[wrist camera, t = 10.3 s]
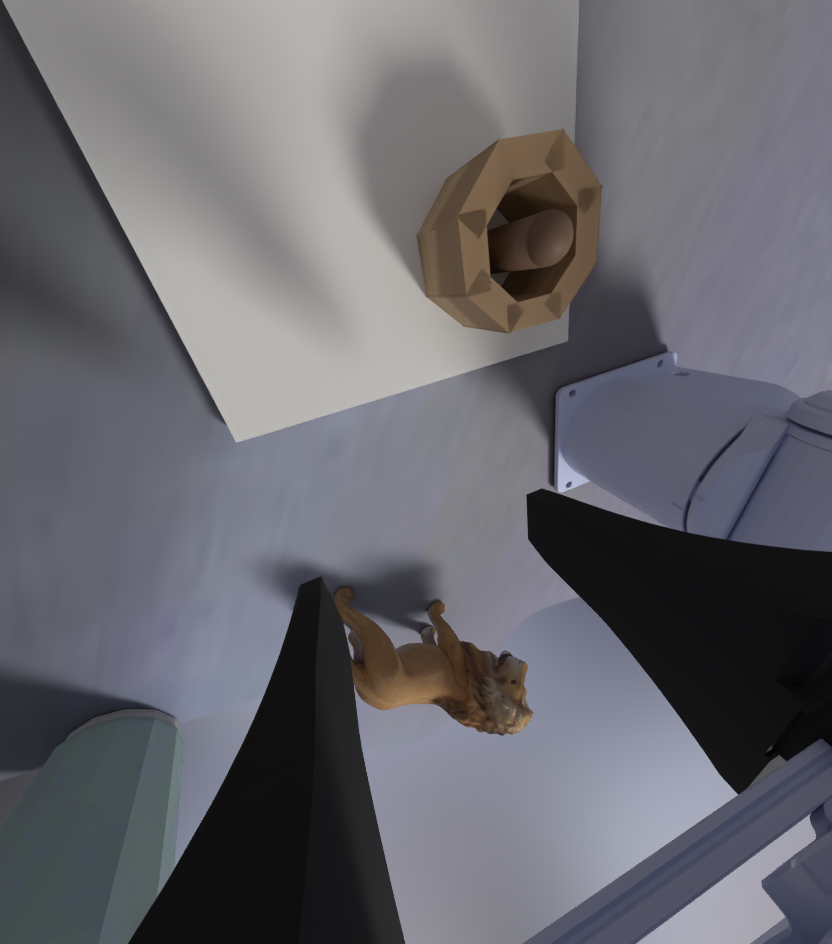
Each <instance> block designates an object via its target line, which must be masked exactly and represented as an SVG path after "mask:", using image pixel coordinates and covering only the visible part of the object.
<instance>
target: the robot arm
mask: <svg viewBox="0 0 832 944" xmlns="http://www.w3.org/2000/svg"><path fill="white" fill-rule="evenodd" d="M676 361H677V353H676V352H671V351H669V352H665V353H662V354H660V355H657V356H654V357H651V358H648V359H645V360H642V361H639V362H636V363H633V364H630V365H627V366H624V367H621V368H618V369H615V370H612V371H609V372H606V373H603V374H600V375H597V376H594V377H591V378H588V379H585V380H582V381H579V382H576V383H573V384H570V385H567V386H564V387H562V388H560V389H559V390H558V391H557V393H556V407H555V470H554V488H555V490H556V491H557V492H560V493H561V492H564V491H567V490H569V489H572V488H574V487H577V486H579V485H582V484H584V483H587V482H589V481H591V482H593V483H594V484H596V485H598V486H599V487H601V488H603V489H604V490H606V491H608V492H609V493H611V494H613V495H614V496H616V497H618V498H619V499H621V500H623V501H624V502H626V503H628V504H629V505H631V506H633V507H634V508H636V509H638V510H639V511H641V512H643V513H645V514H646V515H648V516H650V517H651V518H653V519H655V520H656V521H658V522H660V523H661V524H663V525H665V526H666V527H668V528H666V527H662V526H658V525H654V524H651V523H647V522H643V521H640V520H636V519H633V518H629V517H626V516H623V515H620V514H616V513H613V512H610V511H607V510H604V509H601V508H598V507H595V506H592V505H589V504H586V503H583V502H581V501H578V500H575V499H572V498H569V497H566V496H563V495H560V494H557V493H555V492H551V491H548V490H545V489H540V490H537V491H535V492H532V493H530V494H527V519H528V539H529V541H530V542H531V543H532V545H533V546H534V547H535V549H536V550H537V551H538V553H539V554H540V555H541V556H542V558H543V559H544V560H545V562H546V563H547V564H548V565H549V566H550V567H551V568H552V569H553V570H554V571H555V572H556V573H557V574H558V575H559V576H560V577H561V578H562V579H563V580H564V581H565V582H566V583H567V584H568V585H569V586H570V587H571V588H572V589H573V590H574V591H575V592H576V593H577V594H578V595H579V596H580V597H581V598H582V599H583V600H584V601H585V602H586V603H587V604H588V605H589V606H590V607H591V608H592V609H593V610H594V611H595V612H596V613H597V614H598V615H599V616H600V617H601V618H602V619H603V620H604V622H605V623H606V624H607V625H608V626H609V627H610V628H611V630H612V631H613V632H614V633H615V635H616V636H617V637H618V638H619V639H620V640H621V642H622V643H623V644H624V645H625V647H626V648H627V649H628V650H629V651H630V653H631V654H632V655H633V656H634V658H635V659H636V660H637V661H638V663H639V664H640V665H641V666H642V668H643V669H644V670H645V672H646V673H647V674H648V675H649V677H650V678H651V679H652V680H653V682H654V683H655V684H656V686H657V687H658V688H659V690H660V691H661V692H662V694H663V695H664V696H665V698H666V699H667V700H668V702H669V703H670V704H671V706H672V707H673V708H674V710H675V711H676V712H677V714H678V715H679V716H680V718H681V719H682V721H683V722H684V723H685V725H686V726H687V728H688V729H689V730H690V732H691V733H692V735H693V736H694V738H695V739H696V741H697V742H698V743H699V745H700V746H701V748H702V749H703V750H704V752H705V753H706V755H707V756H708V758H709V759H710V760H711V762H712V764H713V765H714V767H715V768H716V770H717V771H718V773H719V774H720V775H721V776H722V777H723V779H724V780H725V781H726V782H727V783H728V784H729V785H730V786H731V787H732V788H733V790H734V791H735V792H736V793H737V794H738V796H736V797H735V798H733V799H732V800H730V801H729V802H728V803H726V804H725V805H723V806H722V807H720V808H719V809H717V810H716V811H714V812H713V813H712V814H710V815H709V816H707V817H706V818H705V819H703V820H702V821H700V822H699V823H698V824H696V825H694V826H693V827H691V828H690V829H688V830H687V831H685V832H684V833H683V834H681V835H680V836H678V837H677V838H675V839H674V840H672V841H671V842H670V843H668V844H667V845H665V846H664V847H662V848H661V849H659V850H658V851H657V852H655V853H654V854H652V855H651V856H649V857H648V858H646V859H645V860H643V861H642V862H641V863H639V864H638V865H636V866H635V867H633V868H632V869H630V870H629V871H628V872H626V873H625V874H623V875H622V876H620V877H619V878H617V879H616V880H614V881H613V882H612V883H610V884H609V885H607V886H606V887H604V888H603V889H601V890H600V891H598V892H597V893H596V894H594V895H593V896H591V897H590V898H589V899H587V900H585V901H584V902H583V903H581V904H580V905H578V906H577V907H575V908H574V909H572V910H571V911H570V912H568V913H567V914H565V915H564V916H562V917H561V918H559V919H558V920H557V921H555V922H554V923H552V924H551V925H549V926H548V927H546V928H545V929H543V930H542V931H540V932H539V933H538V934H536V935H535V936H533V937H532V938H530V939H529V940H527V941H526V942H525V943H523V944H636V943H637V942H639V941H640V940H641V939H643V938H644V937H645V936H647V935H648V934H649V933H651V932H652V931H654V930H655V929H656V928H658V927H659V926H660V925H662V924H663V923H664V922H666V921H667V920H668V919H670V918H671V917H672V916H673V915H675V914H676V913H678V912H679V911H680V910H682V909H683V908H684V907H686V906H687V905H688V904H690V903H691V902H692V901H694V900H695V899H696V898H698V897H699V896H701V895H702V894H703V893H705V892H706V891H707V890H709V889H710V888H711V887H713V886H714V885H715V884H717V883H718V882H719V881H721V880H722V879H723V878H725V877H726V876H727V875H729V874H730V873H731V872H733V871H734V870H735V869H737V868H738V867H740V866H741V865H742V864H743V863H745V862H746V861H747V860H749V859H750V858H752V857H753V856H754V855H756V854H757V853H758V852H760V851H761V850H762V849H764V848H765V847H766V846H768V845H769V844H770V843H772V842H773V841H774V840H776V839H777V838H778V837H780V836H781V835H782V834H784V833H785V832H787V831H788V830H789V829H791V828H792V827H793V826H795V825H796V824H797V823H798V822H800V821H801V820H803V819H804V818H805V817H807V816H808V815H809V814H811V815H810V821H811V824H812V826H813V828H814V830H815V833H816V839H815V840H814V841H813V842H812V843H810V844H809V845H808V846H806V847H805V848H803V849H802V850H801V851H799V852H798V853H797V854H795V855H794V856H793V857H791V858H790V859H788V860H787V861H786V862H785V863H783V864H782V865H781V866H779V867H778V868H777V869H776V870H775V871H773V872H772V873H771V874H769V875H768V876H767V877H766V878H765V879H763V880H762V881H761V882H762V887H763V889H764V890H765V891H766V893H767V894H768V895H769V896H770V898H771V899H772V900H773V901H774V903H775V904H776V905H777V906H778V907H779V909H780V910H781V911H782V912H783V914H784V915H785V916H786V917H785V918H784V919H782V920H781V921H780V922H778V923H777V924H776V925H775V926H773V927H772V928H770V929H769V930H768V931H767V932H765V933H764V934H763V935H761V936H760V937H759V938H757V939H756V940H755V941H753V942H752V943H751V944H832V390H828V391H822V392H820V393H817V394H814V395H812V396H809V397H807V398H800V397H799V396H798V395H796V394H795V393H794V392H792V391H790V390H788V389H786V388H784V387H782V386H779V385H776V384H772V383H768V382H762V381H756V380H750V379H745V378H739V377H733V376H727V375H721V374H716V373H710V372H704V371H698V370H692V369H686V368H681V367H675V366H676ZM571 391H572V392H571ZM570 392H571V394H570ZM569 394H570V395H569ZM128 944H405V941H404V936H403V932H402V928H401V924H400V920H399V916H398V911H397V907H396V903H395V899H394V895H393V890H392V886H391V882H390V877H389V873H388V869H387V864H386V860H385V855H384V851H383V846H382V842H381V837H380V833H379V828H378V824H377V819H376V814H375V810H374V805H373V800H372V796H371V792H370V786H369V782H368V777H367V772H366V767H365V762H364V757H363V752H362V747H361V740H360V734H359V727H358V718H357V710H356V701H355V692H354V684H353V675H352V667H351V659H350V651H349V646H348V642H347V637H346V633H345V629H344V625H343V621H342V618H341V616H340V614H339V611H338V609H337V607H336V605H335V603H334V601H333V599H332V597H331V595H330V593H329V591H328V589H327V587H326V585H325V583H324V581H323V579H322V577H318V578H316V579H313V580H311V581H308V582H306V583H303V584H301V586H300V587H299V590H298V594H297V598H296V602H295V606H294V610H293V613H292V617H291V620H290V624H289V627H288V630H287V633H286V636H285V639H284V642H283V645H282V649H281V652H280V655H279V657H278V660H277V663H276V666H275V668H274V671H273V673H272V676H271V679H270V681H269V684H268V687H267V689H266V692H265V694H264V697H263V699H262V701H261V704H260V706H259V709H258V711H257V713H256V715H255V718H254V720H253V722H252V724H251V726H250V729H249V731H248V733H247V735H246V738H245V739H244V742H243V744H242V746H241V748H240V750H239V752H238V754H237V756H236V758H235V760H234V762H233V764H232V766H231V768H230V770H229V772H228V774H227V776H226V778H225V780H224V782H223V783H222V785H221V787H220V789H219V791H218V793H217V795H216V797H215V799H214V800H213V802H212V804H211V806H210V807H209V809H208V811H207V813H206V815H205V816H204V818H203V820H202V821H201V823H200V825H199V827H198V828H197V830H196V832H195V834H194V835H193V837H192V839H191V841H190V842H189V844H188V846H187V848H186V849H185V851H184V853H183V855H182V857H181V858H180V860H179V862H178V864H177V865H176V867H175V869H174V870H173V872H172V874H171V875H170V877H169V879H168V880H167V882H166V884H165V885H164V887H163V888H162V890H161V892H160V893H159V895H158V896H157V898H156V900H155V901H154V903H153V904H152V906H151V907H150V909H149V911H148V912H147V914H146V915H145V917H144V919H143V920H142V922H141V923H140V925H139V927H138V928H137V930H136V931H135V933H134V934H133V936H132V938H131V939H130V941H129V942H128Z"/></svg>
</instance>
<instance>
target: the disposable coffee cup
mask: <svg viewBox="0 0 832 944" xmlns="http://www.w3.org/2000/svg"><path fill="white" fill-rule="evenodd" d="M183 748H184V742H183V740H182V737H181V730H180V728H179V725H178V723H177V720H176V718H174V717H172V716H170V715H167V714H165V713H163V712H161V711H158V710H156V709H123V710H120V711H116V712H112V713H109V714H105V715H101V716H98V717H94V718H92V719H91V720H89V721H88V722H86V723H85V724H83V725H82V726H80V727H79V728H77V729H76V730H74V731H73V732H71V733H70V734H69V735H68V737H67V738H66V740H65V741H64V742H62V743H61V744H59V745H58V746H57V747H56V748H55V749H54V751H53V752H52V754H51V755H50V757H49V758H48V760H47V761H46V763H45V764H44V765H43V767H42V768H41V770H40V771H39V773H38V774H37V776H36V777H35V779H34V780H33V781H32V783H31V784H30V786H29V787H28V789H27V790H26V792H25V793H24V795H23V796H22V797H21V799H20V800H19V802H18V803H17V805H16V806H15V808H14V809H13V810H12V812H11V813H10V815H9V816H8V818H7V819H6V821H5V822H4V823H3V825H2V826H1V828H0V944H128V942H129V941H130V939H131V938H132V936H133V934H134V933H135V931H136V930H137V928H138V927H139V925H140V923H141V922H142V920H143V919H144V917H145V915H146V914H147V912H148V911H149V909H150V907H151V906H152V904H153V903H154V901H155V900H156V898H157V896H158V895H159V893H160V892H161V890H162V888H163V887H164V885H165V884H166V882H167V880H168V879H169V877H170V875H171V874H172V872H173V870H174V863H175V851H176V838H177V825H178V813H179V800H180V787H181V775H182V762H183Z"/></svg>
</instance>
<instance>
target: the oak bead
mask: <svg viewBox="0 0 832 944" xmlns="http://www.w3.org/2000/svg"><path fill="white" fill-rule="evenodd" d="M601 190H602V185H601V184H600V183H599V181H598V180H597V178H596V177H595V175H594V174H593V172H592V171H591V169H590V168H589V166H588V165H587V163H586V162H585V160H584V159H583V157H582V156H581V154H580V153H579V151H578V150H577V148H576V147H575V145H574V144H573V142H572V141H571V139H570V138H569V136H568V135H567V133H566V132H565V129H563V128H562V129H560V130H554V131H548V132H542V133H536V134H530V135H524V136H517V137H511V138H505V139H500V138H499V139H498V140H497V141H495V142H494V143H493V144H492V145H490V146H489V147H488V148H486V149H485V150H484V151H482V152H481V153H480V154H478V155H477V156H476V157H474V158H473V159H472V160H470V161H469V162H468V163H466V164H465V165H464V166H462V167H461V168H460V169H458V170H457V171H456V172H454V173H453V174H452V175H450V176H449V177H448V178H446V179H445V183H444V184H443V186H442V188H441V190H440V192H439V194H438V196H437V198H436V200H435V202H434V204H433V205H432V207H431V209H430V211H429V213H428V215H427V217H426V219H425V221H424V223H423V225H422V226H421V228H420V230H419V232H418V234H417V236H416V237H417V241H418V248H419V254H420V260H421V266H422V272H423V278H424V284H425V291H426V297H427V298H429V299H430V300H431V301H432V302H434V303H435V304H436V305H437V306H439V307H440V308H441V309H442V310H444V311H445V312H446V313H447V314H449V315H450V316H451V317H452V318H454V319H455V320H456V321H457V322H459V323H460V324H461V325H463V327H469V328H476V329H482V330H489V331H495V332H502V333H508V334H510V333H512V332H515V331H519V330H522V329H526V328H529V327H533V326H536V325H539V324H543V323H546V322H550V321H553V320H557V319H560V318H561V316H562V315H563V313H564V312H565V310H566V308H567V307H568V305H569V304H570V302H571V301H572V299H573V298H574V296H575V295H576V293H577V292H578V290H579V289H580V287H581V286H582V284H583V283H584V281H585V280H586V278H587V277H588V275H589V274H590V272H591V270H592V269H593V267H594V266H595V264H597V250H598V235H599V220H600V205H601ZM496 209H497V210H498V211H499V212H500V213H501V214H502V216H503V217H504V218H505V219H506V220H507V221H508V222H509V223H511V222H514V221H516V220H519V219H522V218H525V217H528V216H531V215H534V214H537V213H540V212H543V211H546V210H550V209H556V210H560V211H562V212H564V213H565V214H567V215H568V217H569V218H570V220H571V222H572V224H573V232H574V234H573V241H572V244H571V246H570V249H569V250H568V252H567V254H566V255H565V256H564V257H563V258H562V259H561V260H560V261H559V262H557V263H556V264H554V265H552V266H549V267H544V268H536V269H527V270H519V271H511V272H510V273H509V274H508V276H507V278H506V279H505V281H504V283H503V284H502V286H500V285H499V284H498V283H496V282H495V281H494V280H493V279H492V278H491V277H490V265H489V251H488V237H487V224H488V222H489V221H490V219H491V217H492V215H493V214H494V212H495V210H496Z"/></svg>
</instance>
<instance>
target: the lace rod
mask: <svg viewBox="0 0 832 944" xmlns="http://www.w3.org/2000/svg"><path fill="white" fill-rule="evenodd" d="M573 234H574V232H573V224H572V222H571V220H570V218H569V217H568V215H567V214H565V213H564V212H562V211H560V210H556V209H550V210H546V211H543V212H540V213H537V214H534V215H531V216H528V217H525V218H522V219H519V220H516V221H514V222H511V223H508V224H505V225H502V226H499V227H496V228H493V229H490V230H487V237H488V251H489V265H490V274H495V273H503V272H511V271H519V270H527V269H536V268H544V267H549V266H552V265H554V264H556V263H557V262H559V261H560V260H561V259H562V258H563V257H564V256H565V255H566V254H567V252H568V250H569V249H570V246H571V244H572V241H573Z"/></svg>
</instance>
